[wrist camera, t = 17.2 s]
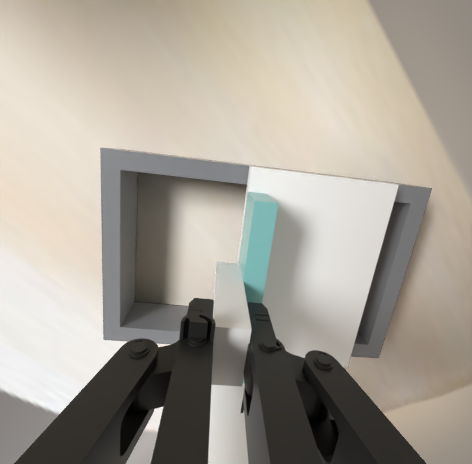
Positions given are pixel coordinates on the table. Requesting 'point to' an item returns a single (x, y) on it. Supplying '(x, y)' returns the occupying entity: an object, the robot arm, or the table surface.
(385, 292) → the grey shallow rectangular tray
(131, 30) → the table surface
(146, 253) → the table surface
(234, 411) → the cup
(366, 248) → the cover
